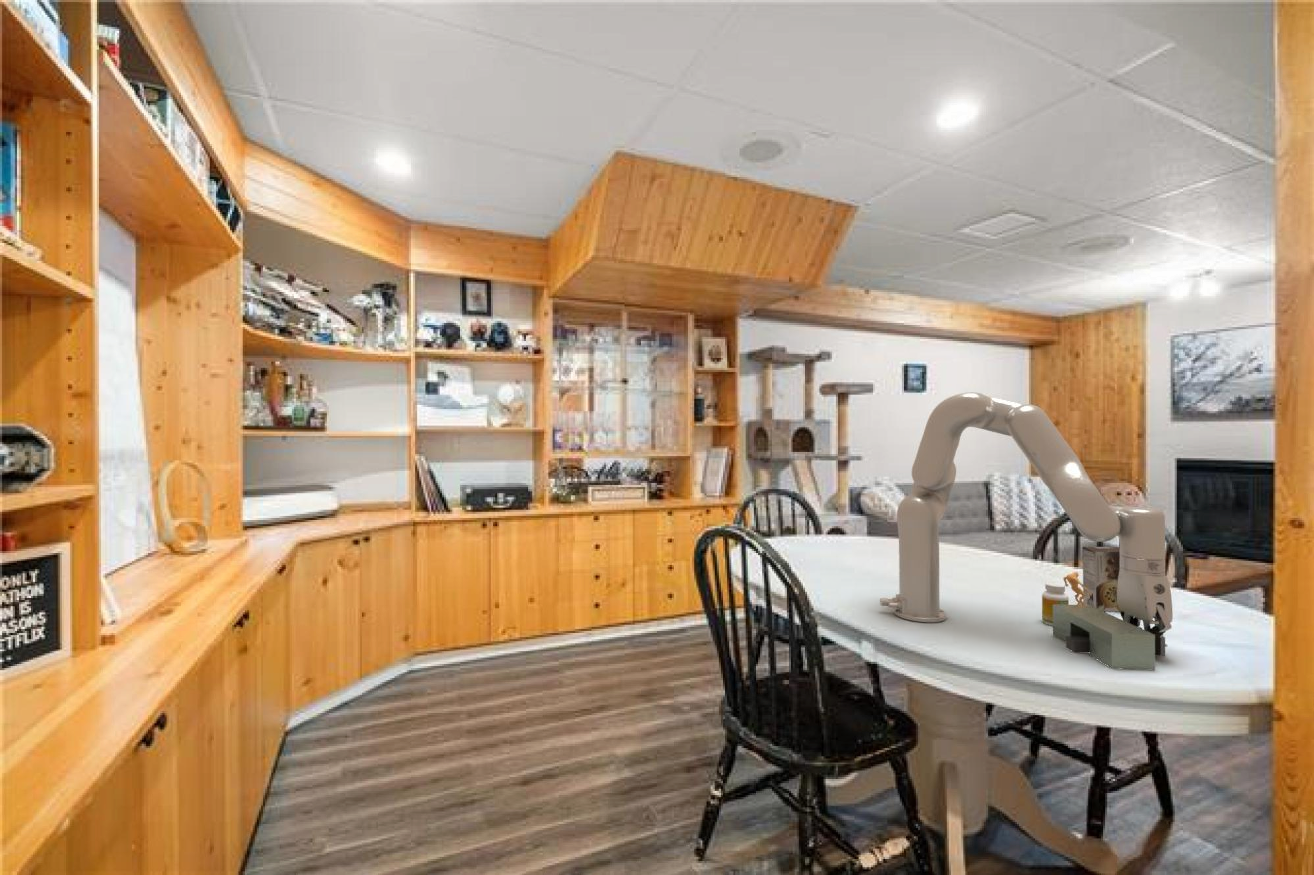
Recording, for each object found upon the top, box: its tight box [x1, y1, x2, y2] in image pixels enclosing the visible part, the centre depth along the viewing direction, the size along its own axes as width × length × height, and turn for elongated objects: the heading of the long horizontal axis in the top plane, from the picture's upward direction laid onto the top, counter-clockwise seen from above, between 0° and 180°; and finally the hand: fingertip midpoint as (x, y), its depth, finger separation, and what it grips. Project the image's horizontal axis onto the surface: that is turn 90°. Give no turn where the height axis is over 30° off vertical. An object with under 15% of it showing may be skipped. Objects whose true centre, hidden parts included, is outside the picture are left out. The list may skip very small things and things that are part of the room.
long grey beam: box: [1065, 636, 1168, 657], centre depth 124 cm, size 18×4×4 cm, turn 84°
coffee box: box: [1082, 546, 1120, 613], centre depth 154 cm, size 9×6×16 cm
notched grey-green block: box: [1052, 604, 1156, 670], centre depth 124 cm, size 8×20×7 cm, turn 174°
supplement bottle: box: [1041, 582, 1070, 627], centre depth 142 cm, size 5×5×10 cm
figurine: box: [1062, 571, 1091, 605], centre depth 145 cm, size 8×6×12 cm
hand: (1142, 648), depth 123 cm, fingers closed on long grey beam, 4 cm apart
